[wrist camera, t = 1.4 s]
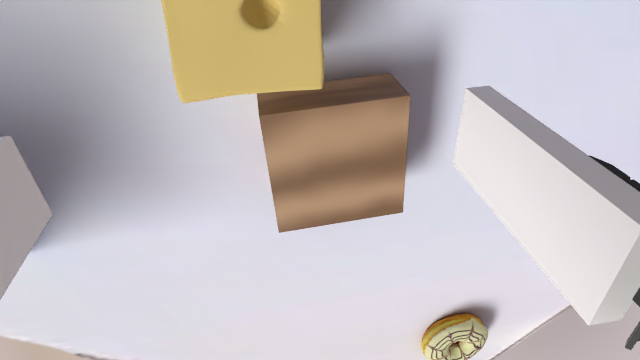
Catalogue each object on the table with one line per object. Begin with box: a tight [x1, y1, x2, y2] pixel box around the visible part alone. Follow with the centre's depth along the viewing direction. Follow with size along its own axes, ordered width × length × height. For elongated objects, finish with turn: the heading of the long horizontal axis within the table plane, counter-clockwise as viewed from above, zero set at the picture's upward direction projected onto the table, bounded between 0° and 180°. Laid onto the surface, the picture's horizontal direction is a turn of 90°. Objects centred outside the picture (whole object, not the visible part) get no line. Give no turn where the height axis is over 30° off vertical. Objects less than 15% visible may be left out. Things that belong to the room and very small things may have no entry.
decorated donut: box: [421, 313, 488, 360], centre depth 65 cm, size 10×11×4 cm
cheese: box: [162, 0, 324, 103], centre depth 29 cm, size 10×11×10 cm
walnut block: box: [257, 73, 410, 233], centre depth 40 cm, size 13×13×6 cm
